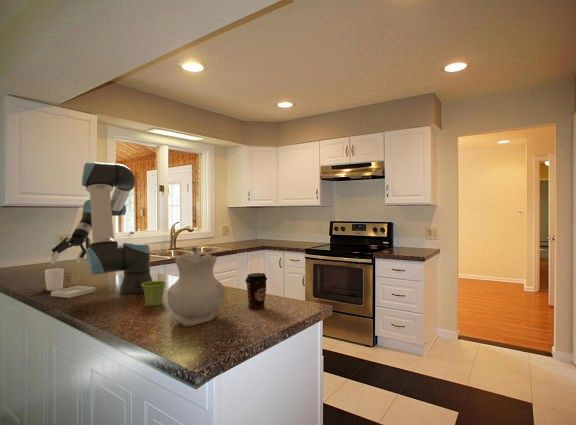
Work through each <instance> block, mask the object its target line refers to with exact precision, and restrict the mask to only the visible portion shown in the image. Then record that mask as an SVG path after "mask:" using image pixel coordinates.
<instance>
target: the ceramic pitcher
mask: <svg viewBox="0 0 576 425" xmlns="http://www.w3.org/2000/svg"><path fill="white" fill-rule="evenodd" d="M191 250H192V255H191V254H190V253H184V254H181V255H179V258H175V260H174V262H175V264H176V267H177V268H178V272H179V273H178V274H179V277H178V279H177V280H176V281H175V282H174V283H172V285H171V286H170V287H169V288H168V290H167V292H166V293H167V295H166V296H167V297H166V299H167V304H168V307H169V309H170V310H171V311H172V313H173V314H174V315H176V316H177V317H180V318H179V319H178V321H179V324H181V325H182V326H185V327H192V326H196V325H199V324H202V323H206V322H207V323H208V322H211V321H213V320H214V318H215V317H214V315H213V313H216V312H217V311H218V310H219V309H220V308H221V306H222V304H223V302H224V300H225V296H226V295H225V294H226V292H225V290H226V288H225V286H224V284H222V282H221V281H219V280H218V279H216V278H215V275H214V267H215V264H216V263H217V262H216V261H217V256H216V255H215V256H213V255H212V254H210V253H206V254H205V255H203V256H201V255H200V254H201V253H200V250H199V248H198V247H196V246H192V248H191Z"/></svg>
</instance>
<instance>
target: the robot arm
mask: <svg viewBox="0 0 576 425" xmlns="http://www.w3.org/2000/svg"><path fill="white" fill-rule="evenodd" d="M136 182H137V181H136V176H135V174H134V172H133V171H132V170H131V169H130V167H128V166H126V165H124V164H121V163H112V162H111V163H108V162H96V161H95V162H93V161H92V162H91V161H90V162H89V161H87V162H85V163H84V165H83V170H82V177H81V186H82V187H85V191H86V192H88V193H89V199H88V200H87V199H86V201H84V203H83V206H82V214H81V218H80V221H79V223H78V224H77V226H76V227H75V229H74V230H73V233H71V237H70V238H67V237H65V238H64V239H63V240H62V241H60V242H59V243H58V244H57V245H56V246H54V247H53V248H52V249H51V251H52V255H51V258H50V260H49V263H51V265H55V263H56V261H57V260H58V258H59V256H60V255H61V254H60V253H63V252H64V251H65V250H67V249H68V248H71V247H78V246H79V247H80V249H81V251H79V253H78V255H77V257H76V258H75V260H74V262H75V263H76V264H77V265H80V263H81V262H82V259H83V258H84V257H86V264H87V267H88V269H89V271H90V273H92V274H104V273H111V272H112V273H113V272H121V271H123V277H122V282H121V284H120V287H119V292H120V293H121V294H124V295H134V294H135V295H137V294H144V290H143V287H142V286H141V284H143V283H146V282H151V281H153V277H152V276H151V257H150V256H151V252H150V251H151V250H150V246H149V245H148V243H141V242H123V243H122V245H119V242H118V241H117V240H115V237H114V229H113V228H114V226H113V223H114V222H113V217H120V216H125V215H126V214H127V206H126V203H127V202H126V201H127V200H128V197H129V194H130V193H131V191H132V190H133V189H134V188H135V185H136ZM111 192H113V193H112V195H111ZM91 232H92V240H91V239H90V238H89V237H90V234H91ZM83 243H85V246H84V244H83Z"/></svg>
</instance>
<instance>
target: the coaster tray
mask: <svg viewBox="0 0 576 425" xmlns="http://www.w3.org/2000/svg"><path fill="white" fill-rule="evenodd" d="M95 292H96V287H94V286H84V285H74V286H71V287H65V288H62V289H59V290H53V291H50V297H58V298H67V299H72V298H77V297H79V296H83V295H87V294H91V293H95Z"/></svg>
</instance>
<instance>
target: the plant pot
mask: <svg viewBox="0 0 576 425" xmlns="http://www.w3.org/2000/svg"><path fill="white" fill-rule="evenodd" d="M166 284H167V282H166V281H163V280H156V281H155V280H152V281H151V282H146V283H143V284H141V286H142V287H143V290H144V293H143V294H144V300H145V301H144V302H145V306H146V307H152V306H155V307H158V306H160V305H162V303H163V299H164V298H163V297H164V290H165V286H166Z"/></svg>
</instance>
